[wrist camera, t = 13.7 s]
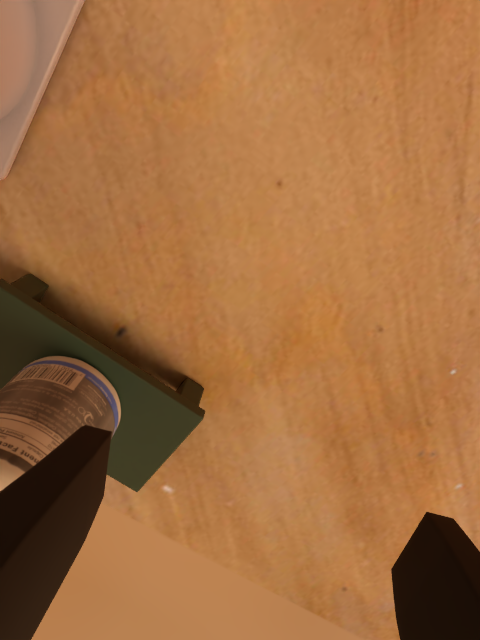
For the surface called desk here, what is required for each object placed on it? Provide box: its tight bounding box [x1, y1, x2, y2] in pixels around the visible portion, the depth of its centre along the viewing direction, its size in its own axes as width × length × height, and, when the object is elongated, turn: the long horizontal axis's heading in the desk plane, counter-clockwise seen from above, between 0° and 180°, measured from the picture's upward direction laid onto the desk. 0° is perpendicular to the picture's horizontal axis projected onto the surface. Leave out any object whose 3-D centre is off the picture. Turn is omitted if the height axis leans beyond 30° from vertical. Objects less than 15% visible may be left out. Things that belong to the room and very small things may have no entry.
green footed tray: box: [0, 273, 205, 492], centre depth 20 cm, size 10×6×2 cm, turn 54°
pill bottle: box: [0, 356, 121, 491], centre depth 15 cm, size 5×5×8 cm
